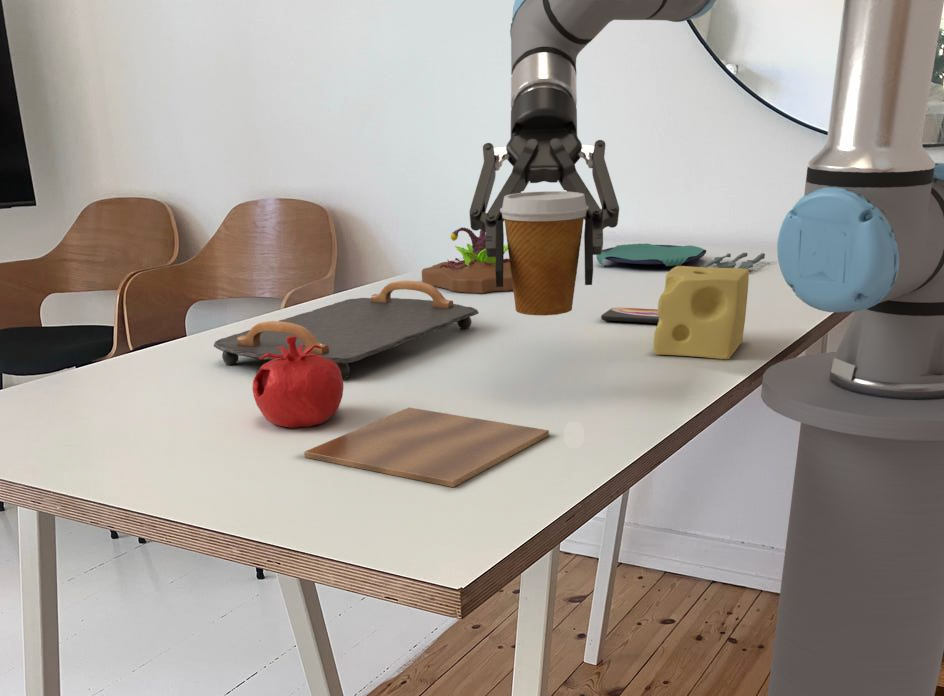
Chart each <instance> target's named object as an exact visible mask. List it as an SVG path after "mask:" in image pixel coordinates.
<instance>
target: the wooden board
mask: <svg viewBox="0 0 944 696" xmlns="http://www.w3.org/2000/svg"><path fill="white" fill-rule="evenodd" d="M549 436H550V430H549V429H543V428H537V427H532V426H524V425H518V424H512V423H507V422H501V421H500V422H499V421H495V420H488V419H481V418H475V417H469V416H465V415H458V414H451V413H445V412H440V411H432V410H427V409H421V408H416V407H415V408H414V407H407V408H405V409H402V410H399V411H398V412H395V413H392V414H390V415H387V416H385V417H383V418H381V419H378V420H376V421H374V422H372V423H369V424H366V425H364V426H362V427H360V428H357V429H354V430H352V431H350V432H348V433H345V434H343V435H340V436H338V437H335V438H333V439H331V440H328V441H326V442H324V443H321V444H320V445H317V446H314V447H311V448H309V449H308V450H305V451H304V453H303V454H304V458H307V459H313V460H317V461H322V462H327V463H332V464H336V465H342V466H347V467H351V468H357V469H362V470H367V471H371V472H376V473H381V474H386V475H391V476H396V477H401V478H406V479H410V480H415V481H420V482H424V483H425V482H426V483H429V484H430V483H431V484H435V485H440V486H445V487H451V488H455V487H458V485H461V484H463V483H464V482H466V481H468V480H470V479H472V478H474V477H476V476H477V475H479V474H480V473H483V472H484V471H486V470H488V469H490V468H492V467H494V466H496V465H498V464H500V463H501V462H503V461H505V460H507V459H508V458H511V457H512V456H514V455H516V454H518V453H520V452H521V451H523V450H525V449H527V448H529V447H530V446H532V445H534V444H536V443H538V442H540V441H542V440H543V439H546V438H547V437H549Z"/></svg>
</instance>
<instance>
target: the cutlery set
mask: <svg viewBox="0 0 944 696" xmlns="http://www.w3.org/2000/svg"><path fill="white" fill-rule="evenodd" d="M706 254H707V250H706V249H704V248H702V247H700V246H695V245H673V244H652V243H628V244H620V245H619V244H618V245H615V246H613V247H608V248H603V249H602V253H601V255H595V256H596V260H597V262H598V263H599V264H600V265H601V266H602V267H604V264H603V260H607V261H610V262H615V263H620V264H621V263H622V264H623V263H624V264H633V265H665V266H666V267H673V266H674V267H676V266H682V264H684V263H689V262H694V261H697V260H700V259H702V258H703V257H704V256H705V255H706ZM731 256H732V253H728V252H727V253H726V255H724V256H714V260H711V261H708V262H706V263H704V264H702V265H703V266H702V267H708V268H710V266H713V265H715V266H716V268H736V265H737V262H738V261H739V260H741V259H743V258H747V257H748V252H742V253H741V254H739V255H737V256H736V257H734V259H732V260H731V261H723V259H725V258H731ZM765 257H766V253H763V252H762V253H760V254H759V255H757V256H756V257H755V258H754V259H747V260H746V261H742V262H741V264H740V265H738V267H737V268H742V269H751V268H753V267H754V264H757V263H759V262H760V261H762V260H764V259H765Z"/></svg>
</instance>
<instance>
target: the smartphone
mask: <svg viewBox="0 0 944 696" xmlns="http://www.w3.org/2000/svg"><path fill="white" fill-rule="evenodd" d="M600 318H601V320H603V321H607V322H609V321H610V322H626V323H627V322H629V323H644V324H645V323H648V324H658V322H659V315H658V308H657V309H653V308H638V307H637V308H636V307H612V308H610V309H608V310H607V311H605V312H604V313H603V314H601V316H600Z"/></svg>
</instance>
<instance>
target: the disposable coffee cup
mask: <svg viewBox="0 0 944 696" xmlns="http://www.w3.org/2000/svg"><path fill="white" fill-rule="evenodd" d="M586 210H588V206H586V201H585V196H584V194H583V193H578V192H567V191H565V190H564V191H563V190H562V191H561V190H560V191H559V190H558V191H557V190H554V191H552V190H551V191H547V190H546V191H545V190H544V191H528V192H521V193H516V194H510V195H506V196H504V201H503V206H502V208H500V212H502V218H504V227H505V235H506V242H507V246H508V249H507V252H508V259H509V260H510V267H511V276H512V283H513V290H512V291H513V298H514V306H515V311H516V313H519V314H521V315H526V316H544V317H545V316H557V315H563V314H567V313H569V312H571V311H572V310H573V303H574V295H575V287H576V280H577V275H578V274H577V273H578V265H579V258H580V251H581V243H582V234H583V229H584V228H583V226H584V221H585V220H584V216H586Z"/></svg>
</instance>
